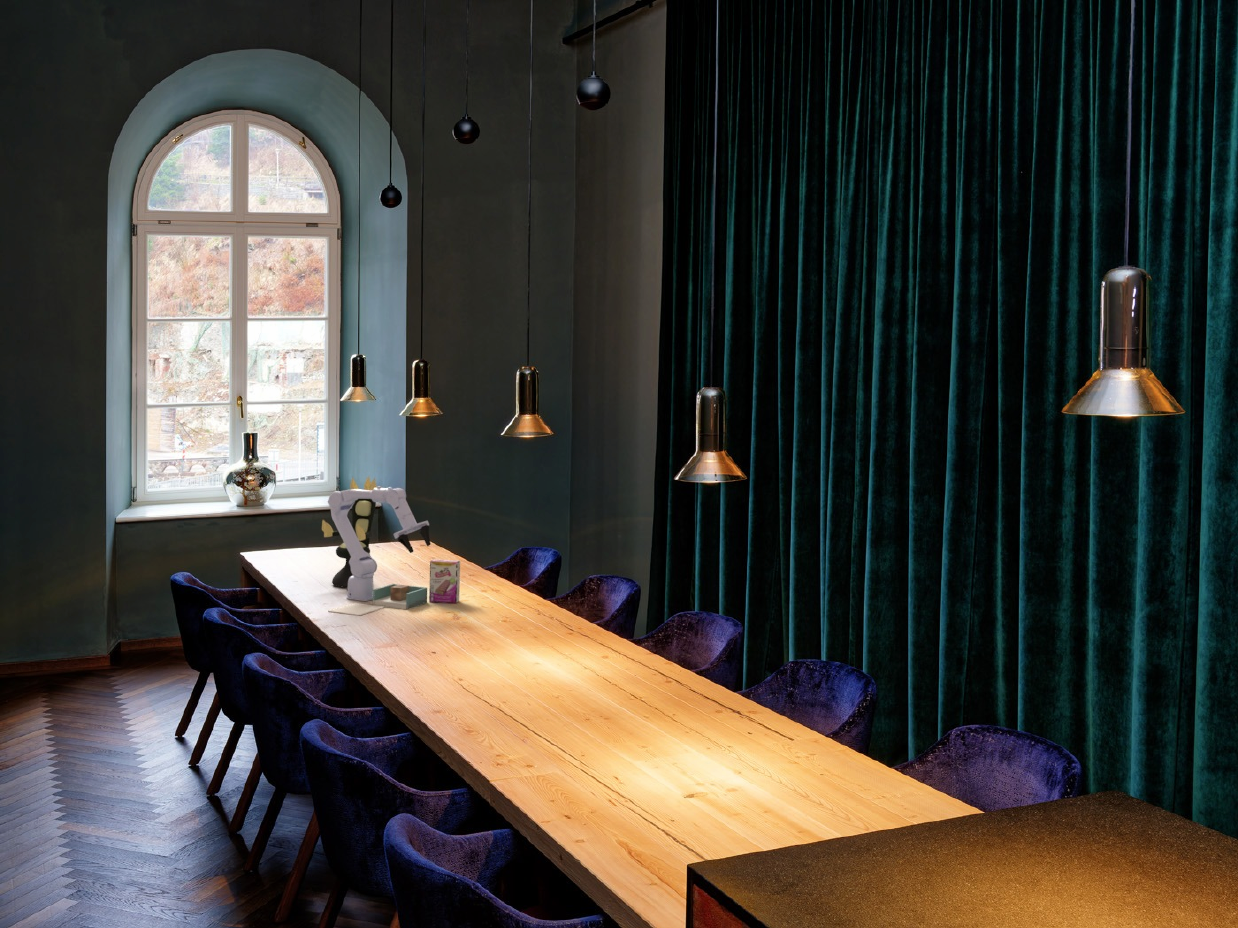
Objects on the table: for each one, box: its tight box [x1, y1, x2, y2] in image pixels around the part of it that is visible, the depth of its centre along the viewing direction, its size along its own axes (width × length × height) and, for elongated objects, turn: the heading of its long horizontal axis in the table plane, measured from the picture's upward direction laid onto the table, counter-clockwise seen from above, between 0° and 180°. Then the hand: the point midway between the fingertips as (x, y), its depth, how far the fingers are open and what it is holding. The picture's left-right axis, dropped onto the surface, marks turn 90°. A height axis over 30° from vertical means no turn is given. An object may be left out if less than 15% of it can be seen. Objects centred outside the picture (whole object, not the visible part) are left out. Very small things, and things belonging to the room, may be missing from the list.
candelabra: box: [321, 475, 377, 589], centre depth 496 cm, size 19×22×45 cm
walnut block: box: [391, 584, 410, 601], centre depth 461 cm, size 4×6×5 cm
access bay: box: [372, 583, 428, 610], centre depth 461 cm, size 16×14×6 cm
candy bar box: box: [428, 558, 461, 604], centre depth 467 cm, size 11×5×16 cm, turn 84°
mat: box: [328, 602, 385, 617], centre depth 449 cm, size 14×16×1 cm
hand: (420, 548), depth 457 cm, fingers open, 7 cm apart
